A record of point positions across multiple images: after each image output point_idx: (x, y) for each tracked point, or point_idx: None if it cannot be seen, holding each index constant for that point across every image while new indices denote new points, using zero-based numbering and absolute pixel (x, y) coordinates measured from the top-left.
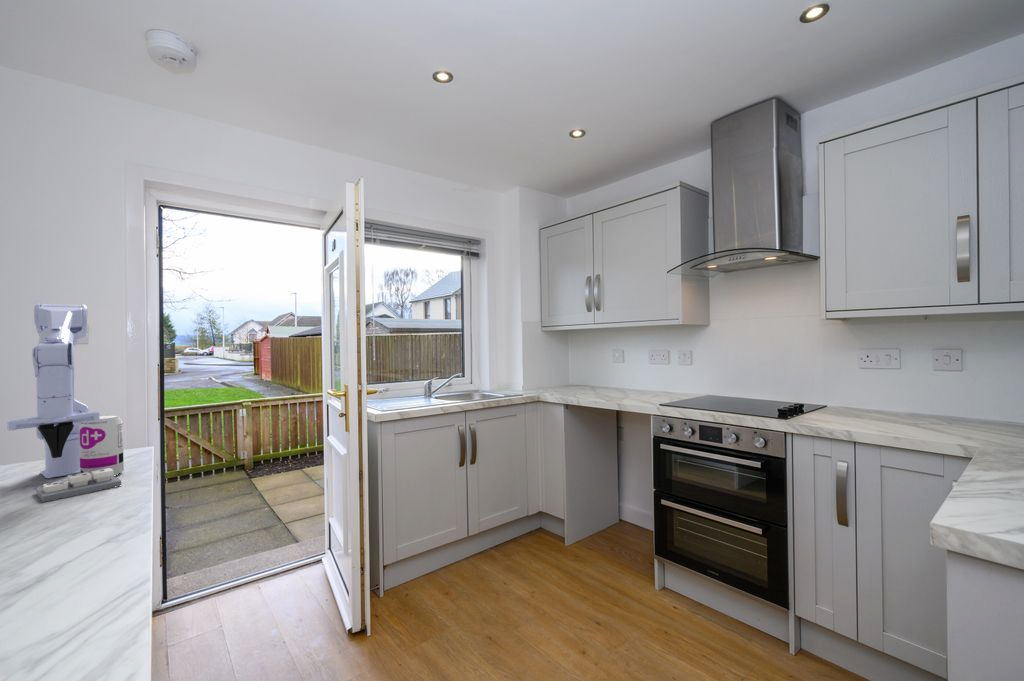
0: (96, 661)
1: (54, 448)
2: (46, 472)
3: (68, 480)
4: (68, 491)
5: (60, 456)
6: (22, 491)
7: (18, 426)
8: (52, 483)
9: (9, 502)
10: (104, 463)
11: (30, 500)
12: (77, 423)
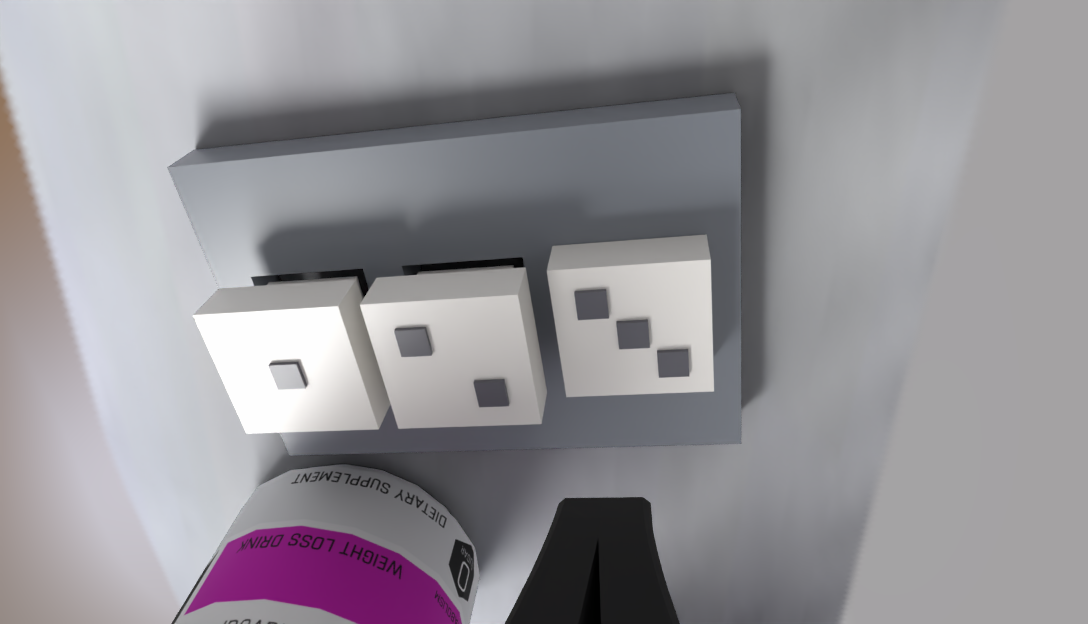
0: None
1: (632, 607)
2: None
3: (539, 363)
4: (551, 126)
5: (570, 503)
6: (789, 539)
7: None
8: (650, 366)
9: (915, 316)
10: (291, 549)
11: (798, 251)
12: None
